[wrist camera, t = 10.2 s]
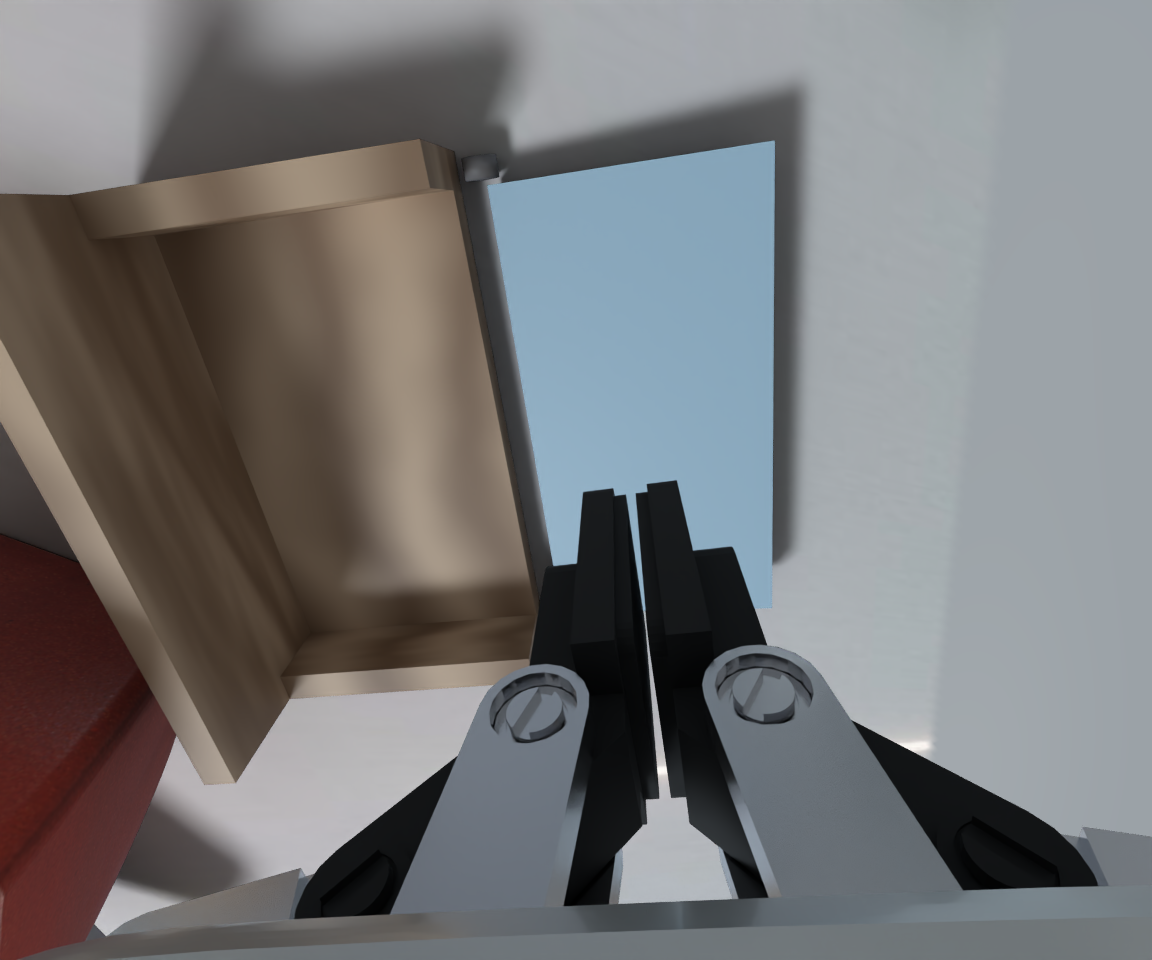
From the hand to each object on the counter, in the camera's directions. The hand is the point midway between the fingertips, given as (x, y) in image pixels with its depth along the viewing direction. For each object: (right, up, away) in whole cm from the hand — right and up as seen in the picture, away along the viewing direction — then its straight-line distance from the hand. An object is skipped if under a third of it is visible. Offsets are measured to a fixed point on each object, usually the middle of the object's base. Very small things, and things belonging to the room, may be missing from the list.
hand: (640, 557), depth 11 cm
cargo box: (-12, +3, +19) cm, 23 cm away
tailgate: (-3, +4, +18) cm, 19 cm away
